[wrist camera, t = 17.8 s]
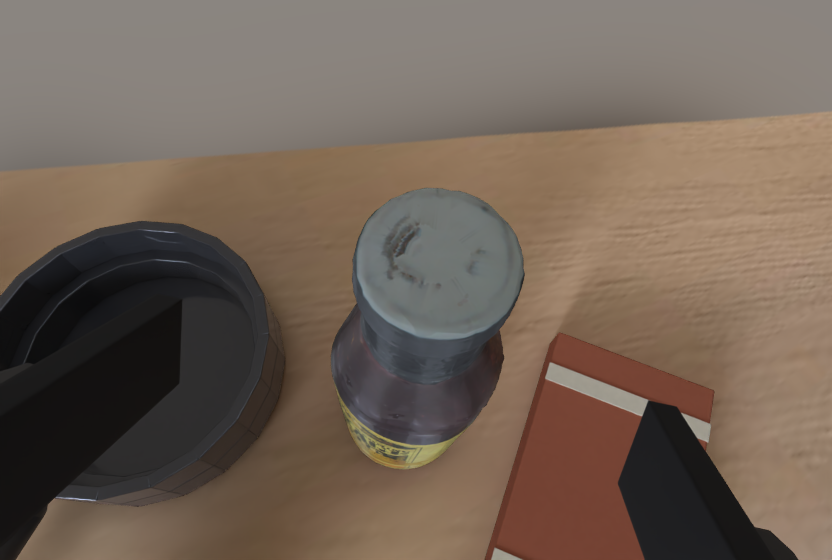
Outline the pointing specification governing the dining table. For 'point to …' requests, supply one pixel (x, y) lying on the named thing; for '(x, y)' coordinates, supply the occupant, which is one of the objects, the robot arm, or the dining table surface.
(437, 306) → the sauce bottle
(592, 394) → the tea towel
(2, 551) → the pan handle
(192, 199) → the dining table surface
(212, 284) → the pan
